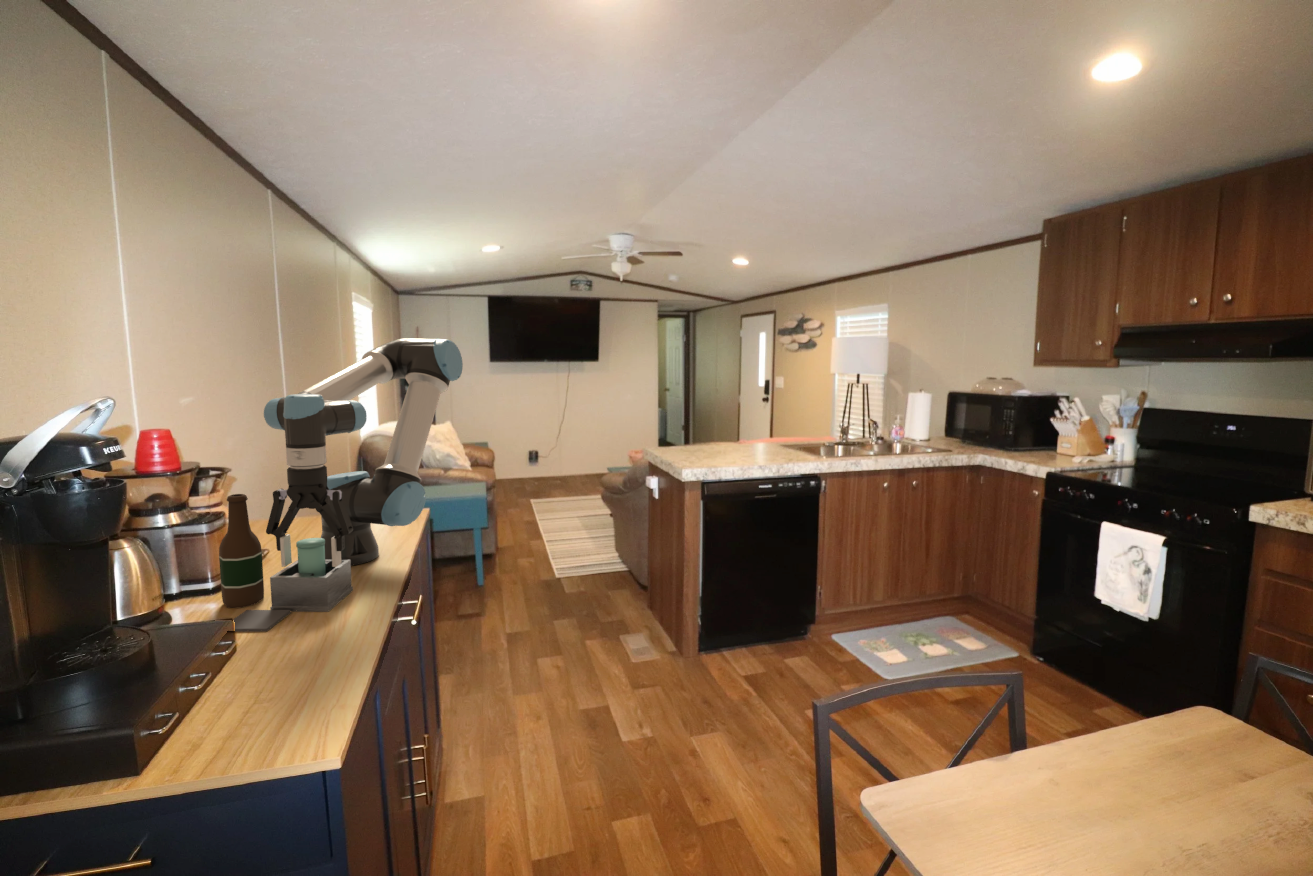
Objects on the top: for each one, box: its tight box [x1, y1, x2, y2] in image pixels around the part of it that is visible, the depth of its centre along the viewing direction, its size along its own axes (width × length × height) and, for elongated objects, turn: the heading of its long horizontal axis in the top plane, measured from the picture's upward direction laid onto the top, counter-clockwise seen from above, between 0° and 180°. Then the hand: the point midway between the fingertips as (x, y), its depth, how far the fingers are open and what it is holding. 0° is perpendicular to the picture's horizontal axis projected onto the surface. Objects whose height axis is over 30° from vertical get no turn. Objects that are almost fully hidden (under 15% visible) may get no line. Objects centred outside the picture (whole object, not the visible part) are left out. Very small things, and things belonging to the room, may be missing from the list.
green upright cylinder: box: [296, 537, 326, 576], centre depth 135 cm, size 9×6×10 cm, turn 3°
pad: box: [233, 609, 292, 633], centre depth 125 cm, size 9×9×1 cm
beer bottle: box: [218, 493, 265, 609], centre depth 133 cm, size 8×8×24 cm
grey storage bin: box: [269, 559, 354, 613], centre depth 135 cm, size 12×12×8 cm
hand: (311, 564), depth 135 cm, fingers open, 10 cm apart
